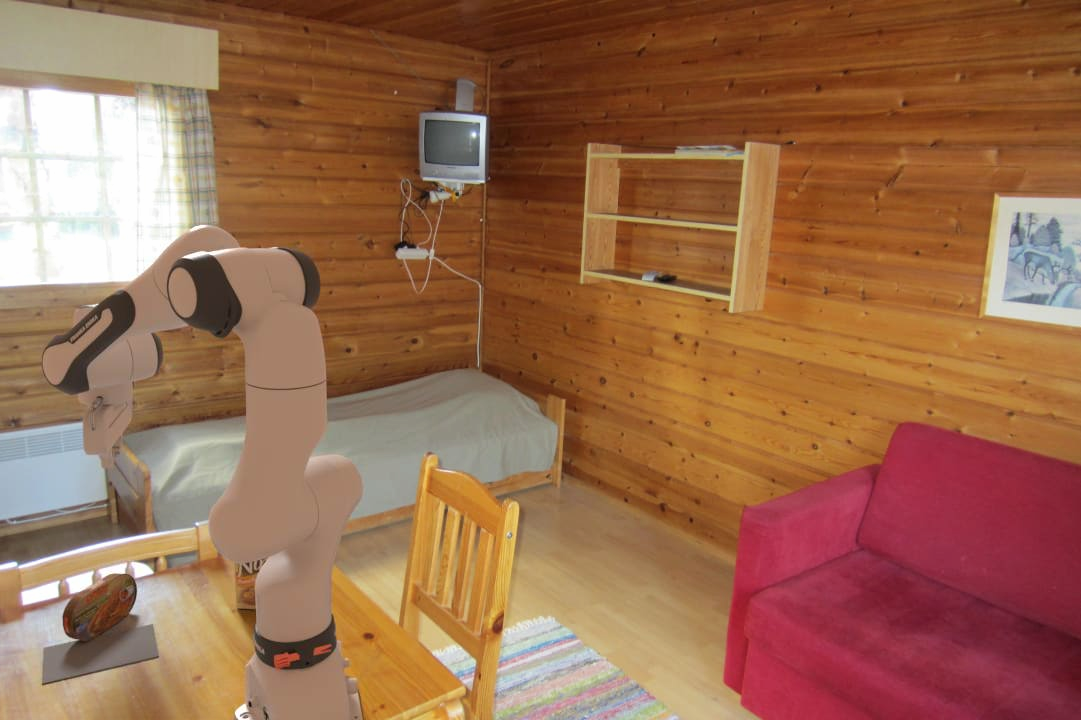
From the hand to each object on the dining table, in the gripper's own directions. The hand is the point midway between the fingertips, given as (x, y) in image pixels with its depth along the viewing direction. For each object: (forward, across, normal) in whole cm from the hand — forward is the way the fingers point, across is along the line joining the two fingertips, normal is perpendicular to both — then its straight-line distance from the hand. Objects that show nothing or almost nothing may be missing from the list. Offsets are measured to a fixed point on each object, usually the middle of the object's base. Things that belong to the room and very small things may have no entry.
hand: (112, 461), depth 151 cm
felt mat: (+27, -20, -1) cm, 34 cm away
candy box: (+27, -9, -26) cm, 39 cm away
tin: (+27, -12, +1) cm, 30 cm away
